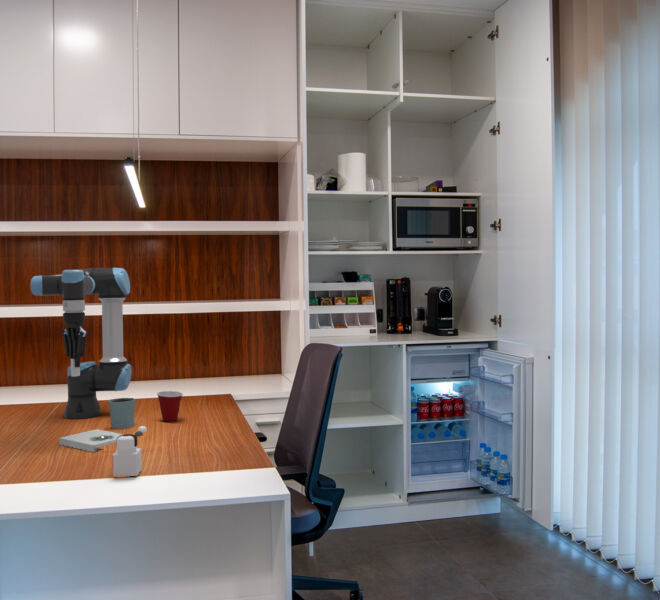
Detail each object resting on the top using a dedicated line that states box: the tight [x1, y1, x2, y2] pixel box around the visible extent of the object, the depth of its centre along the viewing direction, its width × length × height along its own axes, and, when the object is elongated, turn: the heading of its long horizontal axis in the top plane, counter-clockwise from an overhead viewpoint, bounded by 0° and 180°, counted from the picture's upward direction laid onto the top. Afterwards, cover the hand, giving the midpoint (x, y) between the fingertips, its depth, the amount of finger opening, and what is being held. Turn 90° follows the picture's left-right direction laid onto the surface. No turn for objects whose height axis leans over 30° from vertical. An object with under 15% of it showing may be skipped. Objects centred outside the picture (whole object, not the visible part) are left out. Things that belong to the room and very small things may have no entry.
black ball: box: [134, 430, 144, 437], centre depth 247 cm, size 3×3×3 cm
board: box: [58, 428, 124, 453], centre depth 240 cm, size 20×16×2 cm
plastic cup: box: [156, 390, 184, 423], centre depth 277 cm, size 11×11×12 cm
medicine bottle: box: [112, 433, 143, 477], centre depth 202 cm, size 7×7×12 cm
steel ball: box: [97, 435, 107, 440], centre depth 238 cm, size 4×4×4 cm
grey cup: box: [108, 397, 136, 430], centre depth 262 cm, size 10×10×12 cm
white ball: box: [137, 425, 148, 433], centre depth 253 cm, size 4×4×4 cm
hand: (75, 376), depth 243 cm, fingers closed
